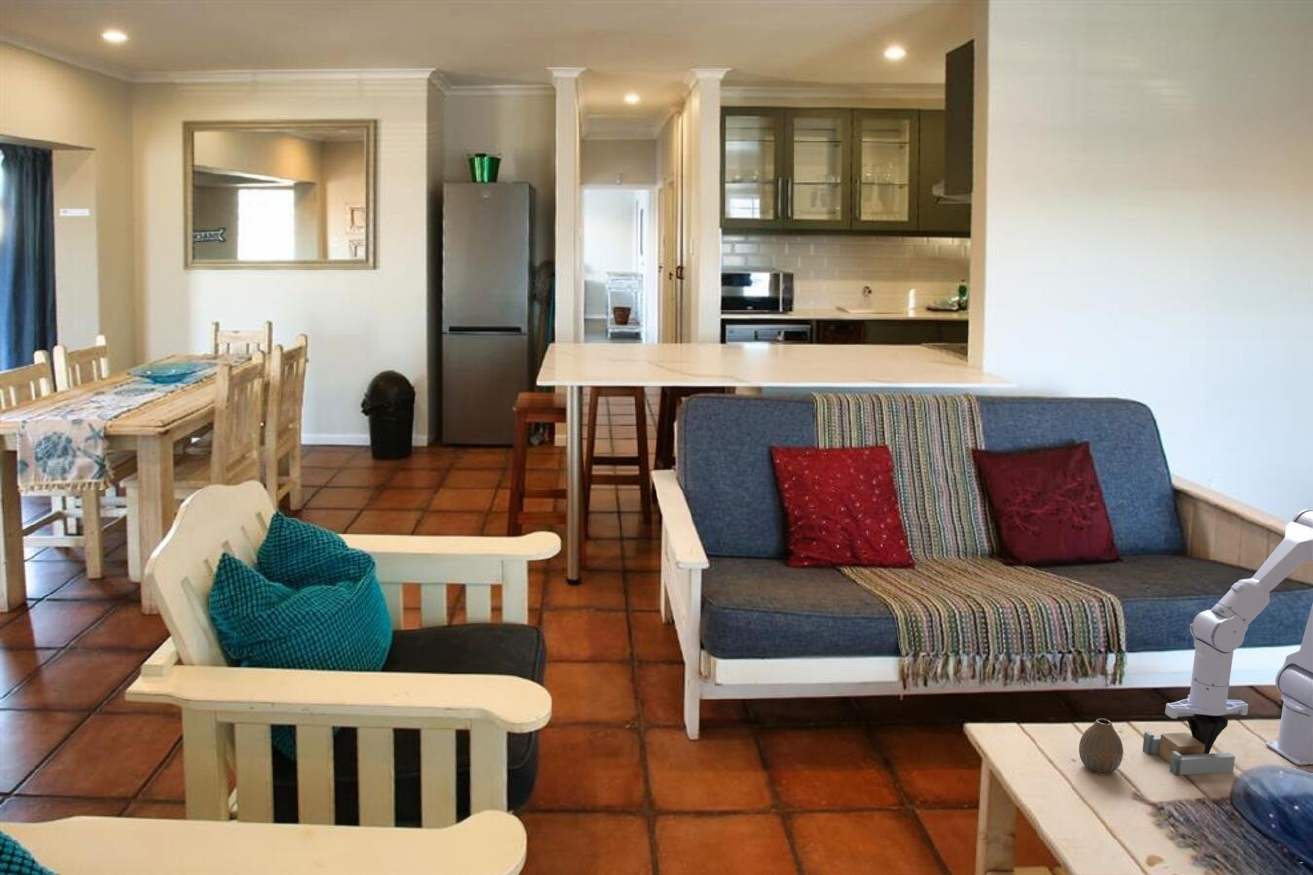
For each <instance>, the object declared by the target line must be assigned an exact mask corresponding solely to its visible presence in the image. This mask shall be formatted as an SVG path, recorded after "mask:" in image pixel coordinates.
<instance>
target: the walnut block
mask: <svg viewBox="0 0 1313 875" xmlns="http://www.w3.org/2000/svg"><path fill="white" fill-rule="evenodd" d="M1188 733H1189V732H1172V733H1171V732H1169V733H1168V732H1167V733H1161V734H1160V735H1161V739H1160V748H1159V754H1158V756H1159V757H1161V758H1162V759H1164V760H1165V761H1166V762H1167V763H1169V765H1170V764H1171V756H1172V751H1177V752H1178V753H1179V754H1181V755H1194V754H1204V750H1205V745H1204V744H1203V743H1201V742H1200V741H1198V740H1197V739H1195V738H1194V737H1193V736H1191V735H1190V734H1188Z"/></svg>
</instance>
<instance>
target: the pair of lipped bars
mask: <svg viewBox="0 0 1313 875" xmlns="http://www.w3.org/2000/svg"><path fill="white" fill-rule="evenodd" d="M1187 733H1188V734H1190V735H1191V736H1192V733H1191V732H1187ZM1160 739H1161V734H1153V733H1152V732H1150V731H1149V730H1148V731H1144V734H1143V743H1142V752H1144V753H1145V754H1147V755H1159V748H1160ZM1235 760H1236V757H1235V755H1233V753H1230V752H1215V753H1213V752H1212V753H1209V754H1194V755H1181V754H1179V753H1178V752H1177V751H1172V756H1171V764H1170V763H1169V765H1170V766H1169V772H1171V774H1173V775H1175V776H1184V775H1185V776H1186V775H1187V776H1188V775H1202V774H1203V775H1204V774H1218V773H1219V774H1220V773H1233V772H1234V769H1235V768H1234V766H1235Z"/></svg>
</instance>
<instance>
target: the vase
mask: <svg viewBox="0 0 1313 875" xmlns="http://www.w3.org/2000/svg"><path fill="white" fill-rule="evenodd" d="M1078 752H1079V758H1080V760H1081V763H1082V764H1083V765H1084V767H1086V769H1087V770H1088V771H1090V772H1091V773H1094V774H1096V773H1097V775H1101V774H1102V776H1105V775H1106V776H1107V775H1110V774H1112V773H1114V772H1116V771H1117V770H1118V769H1119V767H1120V766H1121V764H1122V762H1123V758H1124V746H1123V742H1122V739H1121V737H1120V736H1119V734H1118V732H1117V731H1116V729H1115V728H1114V726H1113V724H1112V722H1111V721H1110V720H1109V719H1107V718H1097V719H1095V721H1094V723H1093V724H1092V725H1090V726H1089V727H1088V728H1087V729H1086V730H1084V732H1083V733H1082V735H1081V737H1080V740H1079V746H1078Z"/></svg>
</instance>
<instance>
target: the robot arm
mask: <svg viewBox="0 0 1313 875" xmlns="http://www.w3.org/2000/svg"><path fill="white" fill-rule="evenodd" d="M1312 561H1313V509H1310V508H1307V509H1303V510H1301V511H1300V512H1298V513H1296V514H1295V516H1294V517H1293V519H1292V520H1291V521H1290V522H1289V523H1288V524H1286V525H1285V528H1284V538H1283V539H1282V541H1281V542H1280V543H1279V544H1278V545H1277V547H1276V548H1275V549H1274V550H1273V551H1272V553H1271V554H1270V555H1269V556H1268V557H1267V558H1266V560H1265V561H1264V562H1263V564H1262V565H1261V566H1260V568H1259V569H1258V570H1257V571H1256V572H1255V574H1253V576H1252V577H1251V578H1244V579H1239V580H1238V581H1237V582H1235V583H1233V584H1232V585H1231V587H1230V589H1229V591H1227V592H1226V593H1225V595H1223V597H1222V598H1220V600H1218V602H1217V603H1216V604H1214V606H1213V607H1212V608H1211V609H1207V610H1204V611H1201V612H1199V613H1198V614H1197V615H1195V617H1194V618H1193V622H1192V623H1190V624H1189V631H1190V633H1191V635H1192V637H1193V640H1194V641H1193V647H1194V648H1195V650H1194V657H1193V665H1192V666H1193V667H1192V674H1191V683H1190V691H1189V694H1187V698H1186V699H1185V698H1184V699H1181V700H1178V701H1175V702H1170V703H1169V702H1168V703H1166V704H1165V711H1164V712H1165V713H1164V714H1165V715H1166V716H1168V717H1169V718H1171V719H1178V717H1185V719H1186V721H1187V723H1188V726H1189V729H1190V731H1191V732H1190V733H1192V736H1193V737H1194V738H1195V739H1197V740H1198V741H1200V742H1201V743H1203V744H1204V745H1205V750H1204V754H1210V752H1211V749H1212V747H1213V745H1214V744H1215V742H1216V740H1217V738H1218V736H1219V735H1220V734H1221V733H1222V732H1223V730H1224V729H1225V728H1227V727H1228V724H1229V720H1228V719H1227V718H1225V717H1224V715H1233V714H1235V715H1236V714H1239V715H1242V716H1246V715H1248V712H1249V711H1248V710H1249V704H1248V703H1246V702H1244V701H1243V700H1241V699H1228V696H1229V689H1230V679H1231V674H1232V672H1231V671H1232V665H1233V657H1234V651H1235V650H1237V649H1238V648H1240V646H1242V644H1243V643H1244V640H1245V636H1246V633H1247V631H1248V630H1249V624H1251V623H1252V622H1253V621H1254V620H1255V618H1257V616H1258V615H1259V614H1261V612H1262V611H1263V610H1264V609H1265V608H1266V607H1267V606H1268V605H1269V604H1270V602H1271V599H1270V598H1271V597H1270V596H1271V595H1270V592H1271V591H1273V589H1275V588H1276V587H1277V586H1278V585H1279V584H1280V583H1281V582H1282V581H1283V580H1285V579H1286V578H1287V577H1288V576H1289V575H1290V574H1291V573H1292V572H1294V571H1295V570H1296V569H1297V568H1298V567H1300V566H1301V565H1302V564H1303V563H1304V562H1312ZM1275 687H1276V689H1277V691H1278V692H1279V693H1280V694H1281V695H1280V700H1282V701H1283V703H1282V709H1281V716H1280V724H1279V731H1278V739H1277V740H1276V741H1266V742H1265V743H1264V744H1265V746H1266V747H1268V748H1270V749H1271V750H1273V751H1275V752H1276V753H1278V754H1279V755H1281V756H1283V757H1284V758H1286V759H1287V760H1289V761H1290V762H1292V763H1294V765H1298V766H1304V765H1305V766H1307V765H1308V764H1310V765H1313V603H1312V605H1311V608H1310V612H1309V616H1308V619H1307V623H1306V626H1305V630H1304V634H1303V637H1302V641H1301V644H1300V648H1299V650H1298V651H1295V652H1293V653H1290V654H1287V655H1286V656H1285V661H1284V663H1283V665H1282V667H1281V668H1280V669H1279V671H1278V672H1277V674H1276V676H1275Z"/></svg>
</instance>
